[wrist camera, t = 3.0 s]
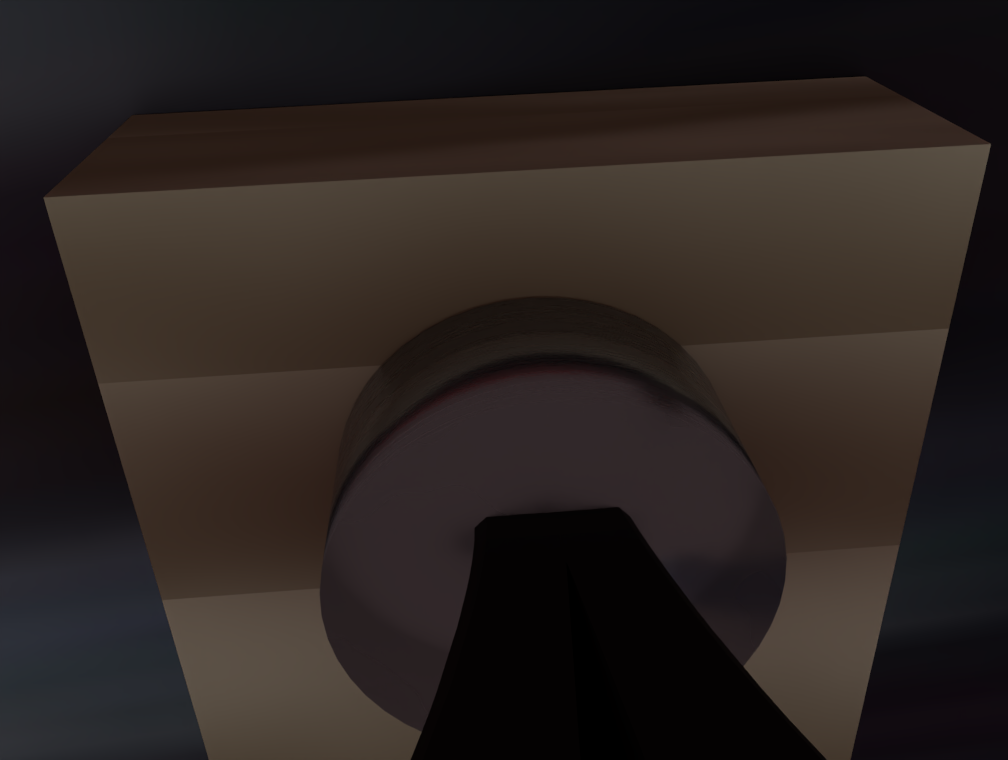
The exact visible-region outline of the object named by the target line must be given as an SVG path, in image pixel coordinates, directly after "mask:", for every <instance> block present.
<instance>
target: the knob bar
mask: <svg viewBox="0 0 1008 760" xmlns="http://www.w3.org/2000/svg"><path fill="white" fill-rule="evenodd" d="M990 146H991V144H990V143H988V142H986V141H985V140H983V139H981V138H979V137H977V136H975V135H973V134H972V133H970V132H968V131H966V130H964V129H962V128H960V127H959V126H957V125H955V124H953V123H951V122H949V121H947V120H946V119H944V118H942V117H940V116H938V115H936V114H934V113H933V112H931V111H929V110H927V109H925V108H923V107H921V106H920V105H918V104H916V103H914V102H912V101H910V100H908V99H907V98H905V97H903V96H901V95H899V94H897V93H896V92H894V91H892V90H890V89H888V88H886V87H884V86H883V85H881V84H879V83H877V82H875V81H873V80H871V79H870V78H868V77H866V76H863V77H844V78H825V79H806V80H787V81H768V82H750V83H731V84H712V85H693V86H674V87H655V88H636V89H617V90H599V91H580V92H561V93H542V94H523V95H504V96H485V97H467V98H448V99H429V100H410V101H391V102H372V103H353V104H334V105H316V106H297V107H278V108H259V109H240V110H221V111H202V112H184V113H165V114H146V115H132V116H131V117H130V118H129V119H128V120H127V121H126V122H124V123H123V124H122V125H121V126H120V127H119V128H118V129H117V130H116V131H115V132H114V133H113V134H111V135H110V136H109V137H108V138H107V139H106V140H105V141H104V142H103V143H102V144H101V145H100V146H99V147H97V148H96V149H95V150H94V151H93V152H92V153H91V154H90V155H89V156H88V157H87V158H86V159H84V160H83V161H82V162H81V163H80V164H79V165H78V166H77V167H76V168H75V169H74V170H73V171H72V172H70V173H69V174H68V175H67V176H66V177H65V178H64V179H63V180H62V181H61V182H60V183H59V184H57V185H56V186H55V187H54V188H53V189H52V190H51V191H50V192H49V193H48V194H47V195H46V196H44V197H43V198H44V201H45V205H46V208H47V211H48V215H49V218H50V222H51V225H52V228H53V232H54V235H55V239H56V242H57V245H58V249H59V252H60V256H61V259H62V262H63V266H64V269H65V273H66V276H67V279H68V283H69V286H70V290H71V293H72V296H73V300H74V303H75V306H76V310H77V313H78V317H79V320H80V323H81V327H82V330H83V334H84V337H85V340H86V344H87V347H88V351H89V354H90V357H91V361H92V364H93V368H94V371H95V374H96V378H97V381H98V385H99V388H100V391H101V395H102V398H103V401H104V405H105V408H106V412H107V415H108V418H109V422H110V425H111V429H112V432H113V435H114V439H115V442H116V446H117V449H118V452H119V456H120V459H121V463H122V466H123V469H124V473H125V476H126V480H127V483H128V486H129V490H130V493H131V497H132V500H133V503H134V507H135V510H136V513H137V517H138V520H139V524H140V527H141V530H142V534H143V537H144V541H145V544H146V547H147V551H148V554H149V558H150V561H151V564H152V568H153V571H154V575H155V578H156V581H157V585H158V588H159V592H160V595H161V598H162V602H163V605H164V609H165V612H166V615H167V619H168V622H169V625H170V629H171V632H172V636H173V639H174V642H175V646H176V649H177V653H178V656H179V659H180V663H181V666H182V670H183V673H184V676H185V680H186V683H187V687H188V690H189V693H190V697H191V700H192V704H193V707H194V710H195V714H196V717H197V720H198V724H199V727H200V731H201V734H202V737H203V741H204V744H205V748H206V751H207V754H208V758H209V760H411V757H412V755H413V752H414V750H415V747H416V745H417V742H418V740H419V737H420V735H421V731H419V730H417V729H415V728H413V727H411V726H408V725H406V724H405V723H403V722H401V721H400V720H398V719H397V718H395V717H393V716H392V715H390V714H389V713H387V712H385V711H384V710H383V709H382V708H380V707H379V706H378V705H377V704H376V703H374V702H373V701H372V700H371V699H369V698H368V697H367V696H366V695H365V694H364V693H363V692H362V691H361V690H360V689H359V687H358V686H357V685H356V684H355V683H354V682H353V681H352V680H351V679H350V677H349V676H348V674H347V673H346V672H345V670H344V669H343V667H342V666H341V664H340V663H339V661H338V660H337V658H336V656H335V653H334V651H333V649H332V647H331V645H330V643H329V641H328V638H327V634H326V631H325V627H324V623H323V620H322V615H321V604H320V582H321V571H322V563H323V557H324V550H325V543H326V536H327V529H328V523H329V516H330V509H331V502H332V495H333V489H334V482H335V475H336V468H337V461H338V455H339V448H340V443H341V439H342V435H343V431H344V427H345V424H346V421H347V419H348V417H349V414H350V412H351V410H352V407H353V405H354V403H355V401H356V400H357V398H358V396H359V395H360V393H361V391H362V390H363V388H364V387H365V385H366V383H367V382H368V381H369V380H370V378H371V377H372V376H373V375H374V374H375V372H376V371H377V370H378V369H379V368H380V366H381V365H382V364H383V363H384V362H385V361H386V360H387V359H388V358H389V357H391V356H392V355H393V354H394V353H395V352H396V351H397V350H398V349H399V348H400V347H402V346H403V345H404V344H406V343H407V342H409V341H410V340H411V339H413V338H414V337H416V336H417V335H419V334H420V333H422V332H423V331H424V330H426V329H428V328H430V327H432V326H434V325H436V324H438V323H440V322H442V321H444V320H445V319H447V318H450V317H452V316H455V315H457V314H460V313H463V312H465V311H468V310H471V309H473V308H477V307H481V306H485V305H489V304H493V303H497V302H501V301H508V300H516V299H524V298H567V299H575V300H583V301H589V302H593V303H597V304H601V305H605V306H609V307H613V308H616V309H618V310H621V311H624V312H626V313H629V314H631V315H634V316H636V317H639V318H640V319H642V320H644V321H646V322H648V323H649V324H651V325H653V326H655V327H657V328H658V329H660V330H661V331H663V332H664V333H665V334H667V335H668V336H669V337H671V338H672V339H673V340H675V341H676V342H677V343H679V344H680V345H681V346H682V347H683V348H684V349H685V350H686V351H687V352H688V353H689V354H690V356H691V357H692V358H693V359H694V360H695V361H696V362H697V363H698V365H699V366H700V368H701V369H702V370H703V372H704V373H705V375H706V376H707V377H708V379H709V380H710V382H711V384H712V386H713V388H714V390H715V392H716V394H717V396H718V398H719V400H720V402H721V404H722V405H723V407H724V409H725V411H726V413H727V415H728V417H729V419H730V421H731V423H732V425H733V427H734V429H735V430H736V432H737V434H738V436H739V438H740V440H741V442H742V444H743V446H744V448H745V450H746V452H747V454H748V455H749V457H750V459H751V461H752V463H753V465H754V467H755V469H756V471H757V473H758V475H759V477H760V479H761V480H762V482H763V484H764V486H765V488H766V490H767V492H768V494H769V496H770V498H771V500H772V502H773V504H774V506H775V508H776V510H777V512H778V515H779V519H780V522H781V526H782V529H783V533H784V537H785V547H786V556H787V562H786V576H785V584H784V588H783V593H782V597H781V601H780V605H779V607H778V610H777V612H776V615H775V617H774V619H773V622H772V624H771V627H770V628H769V630H768V632H767V633H766V635H765V637H764V639H763V640H762V642H761V644H760V645H759V647H758V648H757V649H756V651H755V652H754V653H753V655H752V656H751V657H750V659H749V660H748V661H747V662H746V664H745V665H744V666H743V667H744V668H745V669H746V670H747V671H748V673H749V674H750V675H751V676H752V677H753V679H754V680H755V681H756V682H757V683H758V685H759V686H760V687H761V688H762V689H763V690H764V692H765V693H766V694H767V695H768V696H769V697H770V698H771V699H772V701H773V702H774V703H775V704H776V705H777V706H778V707H779V708H780V710H781V711H782V712H783V713H784V714H785V715H786V716H787V717H788V719H789V720H790V721H791V722H792V723H793V724H794V725H795V726H796V727H797V728H798V729H799V730H800V732H801V733H802V734H803V735H804V736H805V737H806V738H807V739H808V740H809V741H810V742H811V743H812V744H813V745H814V746H815V748H816V749H817V750H818V751H819V752H820V753H821V754H822V755H823V756H824V757H825V758H826V759H827V760H850V759H851V755H852V750H853V746H854V742H855V737H856V733H857V728H858V724H859V720H860V715H861V711H862V707H863V702H864V698H865V693H866V689H867V685H868V680H869V676H870V672H871V667H872V663H873V658H874V654H875V650H876V645H877V641H878V637H879V632H880V628H881V623H882V619H883V615H884V610H885V606H886V602H887V597H888V593H889V588H890V584H891V580H892V575H893V571H894V566H895V562H896V558H897V553H898V549H899V545H900V540H901V536H902V531H903V527H904V523H905V518H906V514H907V510H908V505H909V501H910V496H911V492H912V488H913V483H914V479H915V475H916V470H917V466H918V461H919V457H920V453H921V448H922V444H923V440H924V435H925V431H926V426H927V422H928V418H929V413H930V409H931V405H932V400H933V396H934V391H935V387H936V383H937V378H938V374H939V370H940V365H941V361H942V356H943V352H944V348H945V343H946V339H947V335H948V330H949V326H950V321H951V317H952V313H953V308H954V304H955V300H956V295H957V291H958V286H959V282H960V278H961V273H962V269H963V265H964V260H965V256H966V251H967V247H968V243H969V238H970V234H971V229H972V225H973V221H974V216H975V212H976V208H977V203H978V199H979V194H980V190H981V186H982V181H983V177H984V173H985V168H986V164H987V159H988V155H989V151H990Z"/></svg>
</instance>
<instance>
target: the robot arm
mask: <svg viewBox="0 0 1008 760" xmlns="http://www.w3.org/2000/svg"><path fill="white" fill-rule="evenodd" d="M411 760H827V759H826V758H825V757H824V756H823V755H822V754H821V753H820V752H819V751H818V750H817V749H816V748H815V746H814V745H813V744H812V743H811V742H810V741H809V740H808V739H807V738H806V737H805V736H804V735H803V734H802V733H801V732H800V730H799V729H798V728H797V727H796V726H795V725H794V724H793V723H792V722H791V721H790V720H789V719H788V717H787V716H786V715H785V714H784V713H783V712H782V711H781V710H780V708H779V707H778V706H777V705H776V704H775V703H774V702H773V701H772V699H771V698H770V697H769V696H768V695H767V694H766V693H765V692H764V690H763V689H762V688H761V687H760V686H759V685H758V683H757V682H756V681H755V680H754V679H753V677H752V676H751V675H750V674H749V673H748V671H747V670H746V669H745V668H744V667H743V666H742V664H741V663H740V662H739V661H738V660H737V658H736V657H735V656H734V655H733V654H732V652H731V651H730V650H729V649H728V648H727V646H726V645H725V644H724V643H723V642H722V640H721V639H720V638H719V637H718V636H717V634H716V633H715V632H714V631H713V630H712V628H711V627H710V626H709V625H708V623H707V622H706V621H705V619H704V618H703V617H702V616H701V614H700V613H699V612H698V611H697V609H696V608H695V607H694V606H693V604H692V603H691V602H690V600H689V599H688V598H687V596H686V595H685V594H684V592H683V591H682V590H681V588H680V587H679V586H678V584H677V583H676V582H675V580H674V579H673V578H672V576H671V575H670V574H669V572H668V571H667V569H666V568H665V567H664V565H663V564H662V563H661V561H660V560H659V558H658V557H657V556H656V554H655V553H654V551H653V550H652V548H651V547H650V546H649V544H648V543H647V541H646V540H645V538H644V537H643V535H642V534H641V532H640V531H639V529H638V528H637V526H636V525H635V523H634V522H633V520H632V518H631V517H630V516H629V515H628V514H627V513H626V512H624V511H623V510H622V509H621V508H620V507H614V508H601V509H588V510H576V511H562V512H548V513H534V514H521V515H507V516H493V517H486V518H485V519H484V520H482V521H481V522H480V523H479V524H478V525H477V526H476V527H475V528H474V549H473V557H472V564H471V570H470V576H469V580H468V585H467V590H466V594H465V598H464V602H463V606H462V610H461V614H460V618H459V622H458V626H457V629H456V632H455V635H454V638H453V642H452V645H451V648H450V651H449V654H448V657H447V661H446V664H445V667H444V670H443V673H442V676H441V680H440V683H439V686H438V689H437V692H436V695H435V698H434V701H433V703H432V706H431V709H430V712H429V714H428V717H427V720H426V722H425V725H424V727H423V730H422V732H421V735H420V737H419V740H418V742H417V745H416V747H415V750H414V752H413V755H412V757H411Z"/></svg>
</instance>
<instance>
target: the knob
mask: <svg viewBox="0 0 1008 760" xmlns="http://www.w3.org/2000/svg"><path fill="white" fill-rule="evenodd" d="M614 507H620V508H621V509H622V510H623V511H624V512H626V513H627V514H628V515H629V516H630V517H631V518H632V520H633V522H634V523H635V525H636V526H637V528H638V529H639V531H640V532H641V534H642V535H643V537H644V538H645V540H646V541H647V543H648V544H649V546H650V547H651V548H652V550H653V551H654V553H655V554H656V556H657V557H658V558H659V560H660V561H661V563H662V564H663V565H664V567H665V568H666V569H667V571H668V572H669V574H670V575H671V576H672V578H673V579H674V580H675V582H676V583H677V584H678V586H679V587H680V588H681V590H682V591H683V592H684V594H685V595H686V596H687V598H688V599H689V600H690V602H691V603H692V604H693V606H694V607H695V608H696V609H697V611H698V612H699V613H700V614H701V616H702V617H703V618H704V619H705V621H706V622H707V623H708V625H709V626H710V627H711V628H712V630H713V631H714V632H715V633H716V634H717V636H718V637H719V638H720V639H721V640H722V642H723V643H724V644H725V645H726V646H727V648H728V649H729V650H730V651H731V652H732V654H733V655H734V656H735V657H736V658H737V660H738V661H739V662H740V663H741V664H742V666H744V665H745V664H746V662H747V661H748V660H749V659H750V657H751V656H752V655H753V653H754V652H755V651H756V649H757V648H758V647H759V645H760V644H761V642H762V640H763V639H764V637H765V635H766V633H767V632H768V630H769V628H770V627H771V624H772V622H773V619H774V617H775V615H776V612H777V610H778V607H779V605H780V601H781V597H782V593H783V588H784V584H785V576H786V562H787V556H786V547H785V537H784V533H783V529H782V526H781V522H780V519H779V515H778V512H777V510H776V508H775V506H774V504H773V502H772V500H771V498H770V496H769V494H768V492H767V490H766V488H765V486H764V484H763V482H762V480H761V479H760V477H759V475H758V473H757V471H756V469H755V467H754V465H753V463H752V461H751V459H750V457H749V455H748V454H747V452H746V450H745V448H744V446H743V444H742V442H741V440H740V438H739V436H738V434H737V432H736V430H735V429H734V427H733V425H732V423H731V421H730V419H729V417H728V415H727V413H726V411H725V409H724V407H723V405H722V404H721V402H720V400H719V398H718V396H717V394H716V392H715V390H714V388H713V386H712V384H711V382H710V380H709V379H708V377H707V376H706V375H705V373H704V372H703V370H702V369H701V368H700V366H699V365H698V363H697V362H696V361H695V360H694V359H693V358H692V357H691V356H690V354H689V353H688V352H687V351H686V350H685V349H684V348H683V347H682V346H681V345H680V344H679V343H677V342H676V341H675V340H673V339H672V338H671V337H669V336H668V335H667V334H665V333H664V332H663V331H661V330H660V329H658V328H657V327H655V326H653V325H651V324H649V323H648V322H646V321H644V320H642V319H640V318H639V317H636V316H634V315H631V314H629V313H626V312H624V311H621V310H618V309H616V308H613V307H609V306H605V305H601V304H597V303H593V302H589V301H583V300H575V299H567V298H524V299H516V300H508V301H501V302H497V303H493V304H489V305H485V306H481V307H477V308H473V309H471V310H468V311H465V312H463V313H460V314H457V315H455V316H452V317H450V318H447V319H445V320H444V321H442V322H440V323H438V324H436V325H434V326H432V327H430V328H428V329H426V330H424V331H423V332H422V333H420V334H419V335H417V336H416V337H414V338H413V339H411V340H410V341H409V342H407V343H406V344H404V345H403V346H402V347H400V348H399V349H398V350H397V351H396V352H395V353H394V354H393V355H392V356H391V357H389V358H388V359H387V360H386V361H385V362H384V363H383V364H382V365H381V366H380V368H379V369H378V370H377V371H376V372H375V374H374V375H373V376H372V377H371V378H370V380H369V381H368V382H367V383H366V385H365V387H364V388H363V390H362V391H361V393H360V395H359V396H358V398H357V400H356V401H355V403H354V405H353V407H352V410H351V412H350V414H349V417H348V419H347V421H346V424H345V427H344V431H343V435H342V439H341V443H340V448H339V455H338V461H337V468H336V475H335V482H334V489H333V495H332V502H331V509H330V516H329V523H328V529H327V536H326V543H325V550H324V557H323V563H322V571H321V582H320V604H321V615H322V620H323V623H324V627H325V631H326V634H327V638H328V641H329V643H330V645H331V647H332V649H333V651H334V653H335V656H336V658H337V660H338V661H339V663H340V664H341V666H342V667H343V669H344V670H345V672H346V673H347V674H348V676H349V677H350V679H351V680H352V681H353V682H354V683H355V684H356V685H357V686H358V687H359V689H360V690H361V691H362V692H363V693H364V694H365V695H366V696H367V697H368V698H369V699H371V700H372V701H373V702H374V703H376V704H377V705H378V706H379V707H380V708H382V709H383V710H384V711H385V712H387V713H389V714H390V715H392V716H393V717H395V718H397V719H398V720H400V721H401V722H403V723H405V724H406V725H408V726H411V727H413V728H415V729H417V730H419V731H421V732H422V730H423V727H424V725H425V722H426V720H427V717H428V714H429V712H430V709H431V706H432V703H433V701H434V698H435V695H436V692H437V689H438V686H439V683H440V680H441V676H442V673H443V670H444V667H445V664H446V661H447V657H448V654H449V651H450V648H451V645H452V642H453V638H454V635H455V632H456V629H457V626H458V622H459V618H460V614H461V610H462V606H463V602H464V598H465V594H466V590H467V585H468V580H469V576H470V570H471V564H472V557H473V549H474V528H475V527H476V526H477V525H478V524H479V523H480V522H481V521H482V520H484V519H485V518H486V517H493V516H507V515H521V514H534V513H548V512H562V511H576V510H588V509H601V508H614Z"/></svg>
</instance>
